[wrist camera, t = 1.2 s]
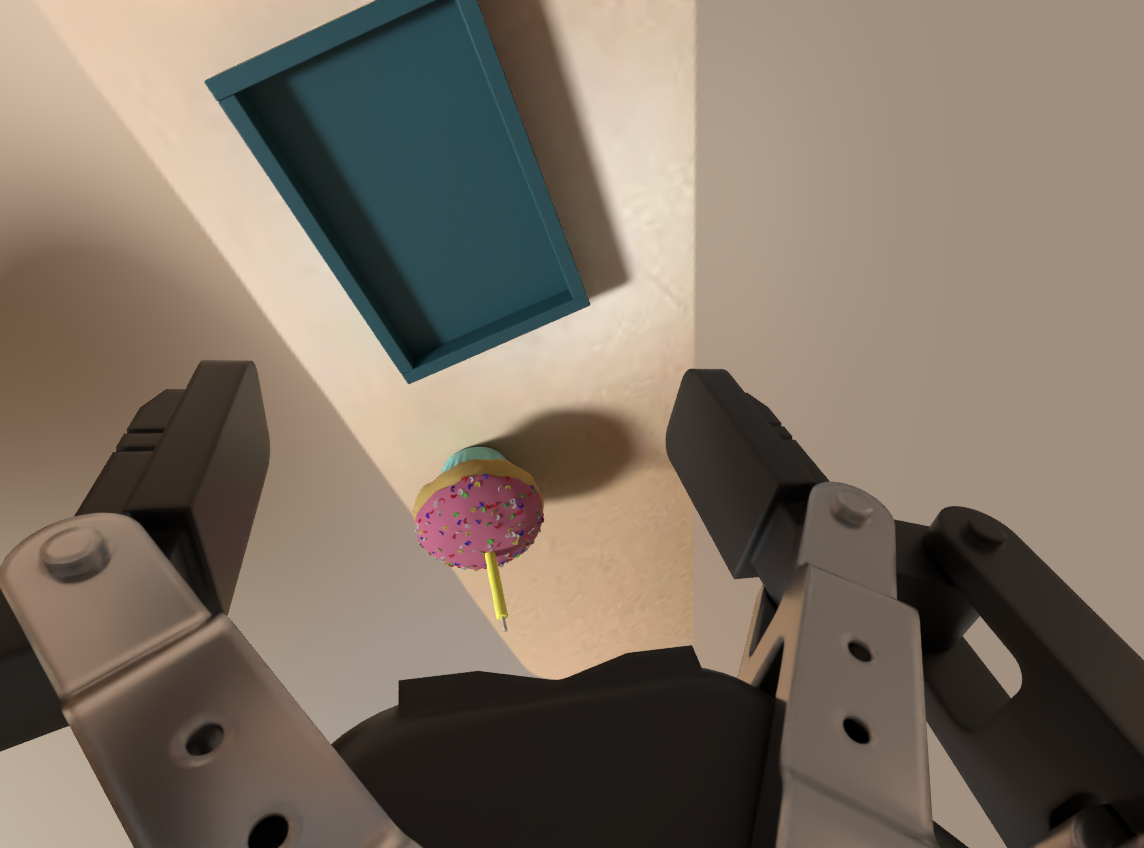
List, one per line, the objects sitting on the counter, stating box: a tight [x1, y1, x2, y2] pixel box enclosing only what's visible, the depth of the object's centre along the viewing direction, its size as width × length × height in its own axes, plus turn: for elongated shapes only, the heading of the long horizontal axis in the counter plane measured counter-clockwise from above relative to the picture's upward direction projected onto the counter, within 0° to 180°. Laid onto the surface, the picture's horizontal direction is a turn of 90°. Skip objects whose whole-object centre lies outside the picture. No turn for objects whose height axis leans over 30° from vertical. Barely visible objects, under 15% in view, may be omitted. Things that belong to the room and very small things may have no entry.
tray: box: [204, 0, 590, 384], centre depth 30 cm, size 17×12×2 cm
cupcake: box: [413, 447, 544, 632], centre depth 38 cm, size 9×8×12 cm
